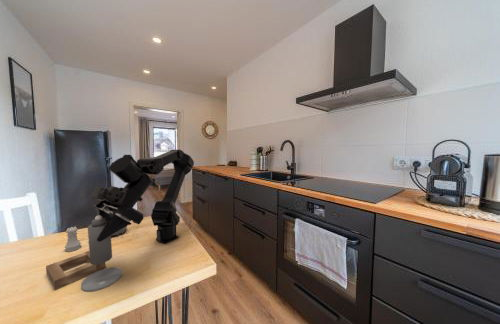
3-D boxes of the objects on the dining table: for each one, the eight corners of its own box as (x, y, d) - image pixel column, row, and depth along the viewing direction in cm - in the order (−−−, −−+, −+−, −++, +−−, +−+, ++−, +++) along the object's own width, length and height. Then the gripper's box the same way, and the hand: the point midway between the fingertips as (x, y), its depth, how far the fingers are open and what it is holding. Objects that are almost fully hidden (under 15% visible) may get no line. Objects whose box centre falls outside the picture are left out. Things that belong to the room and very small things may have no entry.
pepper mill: (108, 252, 55) (105, 211, 54) (115, 258, 53) (112, 214, 52) (87, 260, 52) (84, 216, 51) (93, 267, 49) (90, 220, 48)
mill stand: (93, 256, 64) (92, 249, 64) (105, 267, 58) (105, 260, 57) (46, 274, 55) (45, 266, 55) (55, 290, 49) (54, 280, 48)
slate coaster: (114, 265, 59) (114, 263, 59) (127, 276, 54) (127, 274, 54) (76, 282, 51) (76, 280, 51) (87, 297, 46) (87, 294, 46)
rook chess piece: (71, 252, 66) (69, 231, 66) (61, 251, 67) (59, 230, 66) (84, 246, 71) (83, 225, 70) (75, 245, 71) (73, 225, 71)
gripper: (98, 173, 58) (51, 218, 50) (129, 177, 49) (78, 234, 40) (126, 192, 66) (89, 235, 57) (158, 199, 56) (120, 252, 48)
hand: (93, 238), depth 50 cm, fingers closed on pepper mill, 5 cm apart
